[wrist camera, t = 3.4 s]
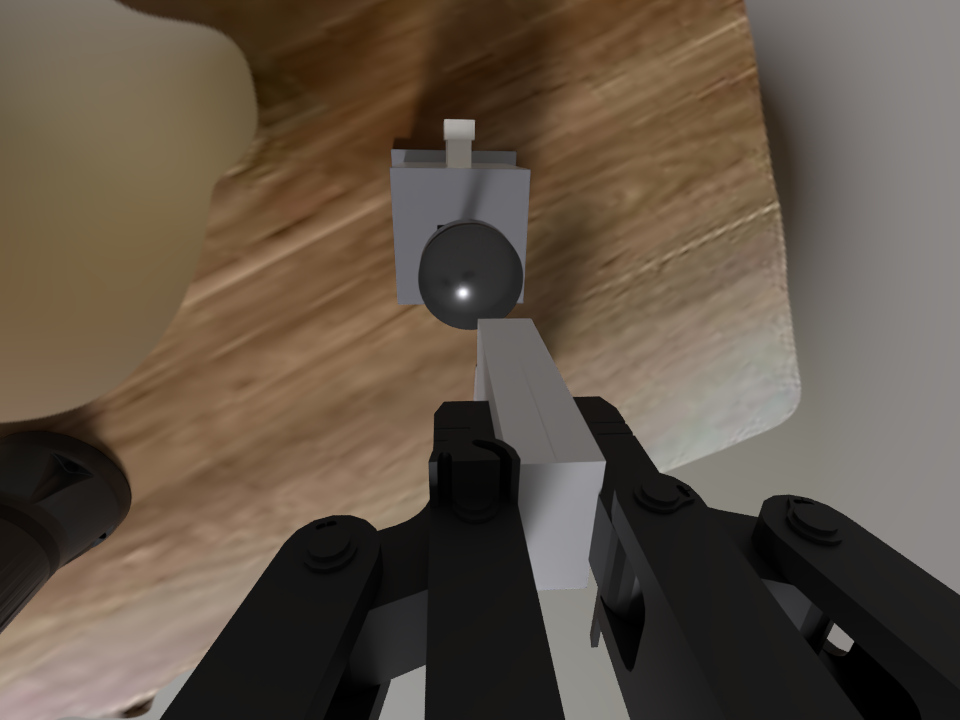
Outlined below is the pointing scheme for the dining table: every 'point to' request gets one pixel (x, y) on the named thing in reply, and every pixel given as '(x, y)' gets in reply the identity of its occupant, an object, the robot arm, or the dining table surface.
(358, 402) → the dining table surface
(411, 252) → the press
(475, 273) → the dark gray domed cylinder
